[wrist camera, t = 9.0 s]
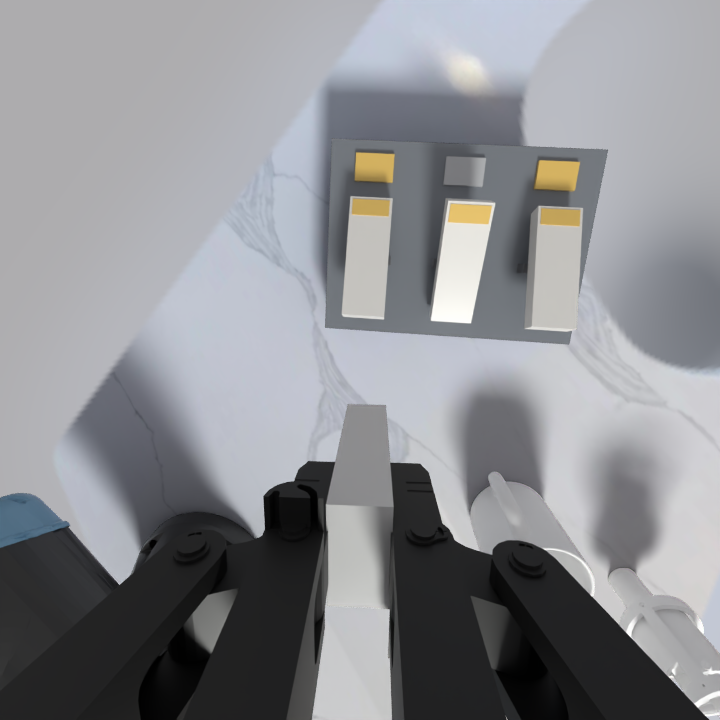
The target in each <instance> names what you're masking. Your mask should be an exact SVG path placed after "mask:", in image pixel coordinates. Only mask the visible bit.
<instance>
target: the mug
mask: <svg viewBox="0 0 720 720" xmlns="http://www.w3.org/2000/svg"><path fill="white" fill-rule="evenodd" d="M488 480H489V483H490V486H489V487H487V488H485V489H484V490H483V491H482V492H480V493H479V495H478V496H477V497H476V498H475V500H474V502H473V504H472V507H471V512H470V519H471V525H472V528H473V532H474V535H475V538H476V541H477V544H478V547H479V550H480V552H484V553H487V554H491V555H492V551H493V548H494V547H495V546H496V545H497V544H498V543H501V542H504V541H507V540H520V541H524V542H528V543H532V544H534V545H536V546H538V547H540V548H542V549H544V550H546V551H547V552H548V553H549V554H551V555H552V556H553V557H554V558H556V559H557V560H558V562H559V563H560V564H561V565H562V566H563V567H564V568H565V569H566V570H567V571H568V572H569V573H570V574H571V575H572V576H573V577H574V578H575V579H576V580H577V581H578V583H579V584H580V585H581V586H582V587H583V588H584V589H585V590H586V591H587V592H588V593H589V594H590V595H591V596H592V597H593V595H594V591H595V580H594V576H593V573H592V571H591V569H590V567H589V565H588V564H587V563H586V561H585V560H584V558H583V557H582V555H581V554H580V552H579V551H578V549H577V548H576V546H575V545H574V543H573V542H572V541H571V539H570V538H569V536H568V535H567V533H566V532H565V530H564V529H563V527H562V526H561V524H560V523H559V522H558V520H557V519H556V517H555V516H554V514H553V513H552V511H551V510H550V508H549V507H548V505H547V504H546V502H545V501H544V500H543V499H542V497H541V496H540V495H539V494H538V493H537V492H536V491H535V490H534V489H532V488H530V487H529V486H527V485H524V484H521V483H517V482H505V480H504V478H503V477H502V476H501V474H500V473H498V472H491V473H490V474H489V476H488Z"/></svg>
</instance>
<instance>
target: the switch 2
mask: <svg viewBox="0 0 720 720" xmlns="http://www.w3.org/2000/svg"><path fill="white" fill-rule="evenodd" d="M494 208H495V202H493V201H491V200H473V199H452V198H446V200H445V207H444V215H443V222H442V229H441V236H440V243H439V250H438V257H437V264H436V271H435V278H434V286H433V293H432V300H431V307H430V319H431V321H442V322H457V323H471V320H472V316H473V311H474V306H475V301H476V296H477V291H478V286H479V281H480V276H481V271H482V267H483V262H484V257H485V252H486V247H487V242H488V237H489V232H490V227H491V222H492V218H493V213H494Z"/></svg>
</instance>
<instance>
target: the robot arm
mask: <svg viewBox="0 0 720 720" xmlns="http://www.w3.org/2000/svg"><path fill="white" fill-rule="evenodd" d="M263 497H264V517H265V531H264V533H263V535H262V536H261V537H259V538H257V539H253V538H252V537H251V536H250V534H249V533H247V532H246V531H245V530H244V529H243V528H241V527H240V526H239V525H237V524H236V523H234V522H232V521H230V520H228V519H226V518H223V517H221V516H218V515H214V514H209V513H199V512H195V513H186V514H181V515H178V516H175V517H173V518H171V519H169V520H167V521H166V522H164V523H163V524H162V525H161V526H159V528H158V529H157V530H156V531H155V532H154V533H153V534H152V535H151V537H150V538H149V539H148V540H147V541H146V543H145V544H144V546H143V547H142V549H141V551H140V553H139V556H138V558H137V560H136V563H135V565H134V568H133V570H132V573H131V575H130V576H129V577H128V578H127V579H126V580H125V581H124V582H123V583H121V584H120V585H119V584H118V583H117V582H116V581H115V580H114V578H113V577H112V576H111V575H110V574H109V573H108V572H107V570H106V569H105V568H104V567H103V566H102V565H101V564H100V563H99V561H98V560H97V559H96V558H95V557H94V556H93V555H92V554H91V552H90V551H89V550H88V549H87V548H86V547H85V546H84V545H83V543H82V542H81V541H80V540H79V539H78V538H77V537H76V535H75V534H74V533H73V532H72V531H71V530H70V529H69V526H70V524H69V523H68V522H67V521H62V520H61V519H60V518H59V517H58V516H57V515H56V514H55V513H54V512H53V511H52V510H51V509H50V508H49V507H48V506H47V505H46V504H45V503H44V502H43V501H42V500H41V499H40V498H38V497H36V496H34V495H32V494H27V493H16V494H10V495H7V496H3V497H1V498H0V720H312V713H313V706H314V699H315V692H316V685H317V678H318V671H319V664H320V657H321V650H322V643H323V636H324V629H325V603H326V596H327V606H335V607H356V608H377V609H390V621H389V647H388V658H390V670H391V699H392V720H507V719H508V720H709V719H708V718H707V717H706V716H705V715H704V714H703V713H702V712H701V711H700V710H699V709H698V707H697V706H696V705H695V704H694V703H693V702H692V701H691V700H690V699H689V698H688V697H687V696H686V695H685V694H684V693H683V692H682V691H681V690H680V689H679V688H678V687H677V685H676V684H675V683H674V682H673V681H672V680H671V679H670V678H669V677H668V676H667V675H666V674H665V673H664V672H663V671H662V670H661V669H660V668H659V667H658V665H657V664H656V663H655V662H654V661H653V660H652V659H651V658H650V657H649V656H648V655H647V654H646V653H645V652H644V651H643V650H642V649H641V648H640V647H639V646H638V644H637V643H636V642H635V641H634V640H633V639H632V638H631V637H630V636H629V635H628V634H627V633H626V632H625V631H624V630H623V629H622V628H621V627H620V626H619V625H618V623H617V622H616V621H615V620H614V619H613V618H612V617H611V616H610V615H609V614H608V613H607V612H606V611H605V610H604V609H603V608H602V607H601V606H600V605H599V604H598V602H597V601H596V600H595V599H594V598H593V597H592V596H591V595H590V594H589V593H588V592H587V591H586V590H585V589H584V588H583V587H582V586H581V585H580V584H579V583H578V581H577V580H576V579H575V578H574V577H573V576H572V575H571V574H570V573H569V572H568V571H567V570H566V569H565V568H564V567H563V566H562V565H561V564H560V563H559V562H558V560H557V559H556V558H554V557H553V556H552V555H551V554H549V553H548V552H547V551H546V550H544V549H542V548H540V547H538V546H536V545H534V544H532V543H528V542H524V541H520V540H507V541H504V542H501V543H498V544H497V545H496V546H495V547H494V548H493V551H492V555H491V554H487V553H484V552H480V551H477V550H473V549H471V548H468V547H465V546H463V545H461V544H460V543H458V542H456V541H455V540H454V538H453V535H452V534H451V532H450V530H449V529H448V528H447V527H446V526H445V525H443V524H442V520H441V517H440V513H439V509H438V505H437V502H436V498H435V494H434V491H433V487H432V485H431V479H430V476H429V472H428V471H427V470H426V469H425V468H424V467H423V466H422V465H421V464H413V463H390V453H389V440H388V427H387V414H386V405H360V404H348V406H347V410H346V415H345V420H344V424H343V429H342V433H341V438H340V442H339V447H338V452H337V456H336V461H335V462H316V461H308V462H307V463H306V464H305V465H303V466H302V467H301V468H300V469H299V470H298V472H297V475H296V477H295V481H294V482H286V483H283V484H279V485H277V486H275V487H273V488H272V489H270V490H269V491H268V492H267V493H266V494H265V495H264V496H263ZM505 715H506V716H505ZM506 717H507V719H506Z"/></svg>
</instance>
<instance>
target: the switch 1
mask: <svg viewBox="0 0 720 720" xmlns="http://www.w3.org/2000/svg"><path fill="white" fill-rule="evenodd" d="M392 202H393V198H376V197H355V196H351V197H350V210H349V223H348V237H347V250H346V263H345V277H344V290H343V303H342V315H343V317H353V318H368V319H384V312H385V298H386V284H387V271H388V257H389V243H390V229H391V215H392Z"/></svg>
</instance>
